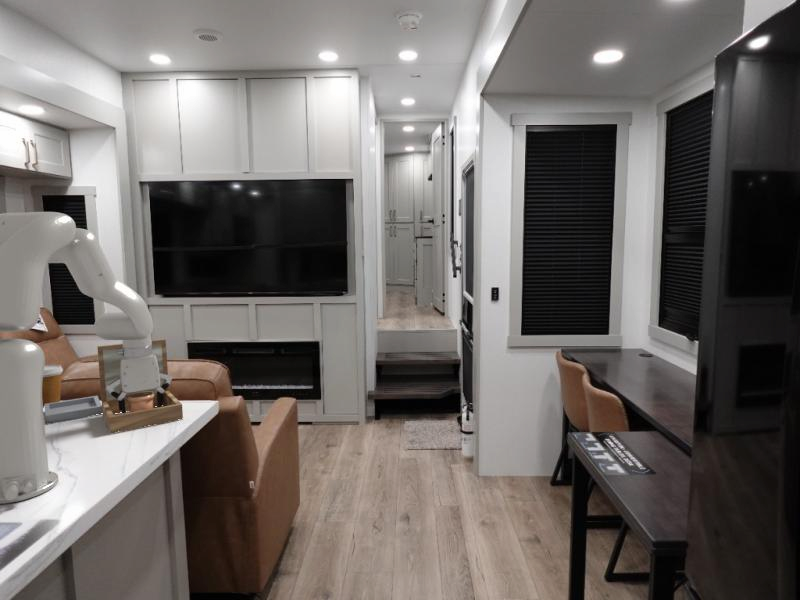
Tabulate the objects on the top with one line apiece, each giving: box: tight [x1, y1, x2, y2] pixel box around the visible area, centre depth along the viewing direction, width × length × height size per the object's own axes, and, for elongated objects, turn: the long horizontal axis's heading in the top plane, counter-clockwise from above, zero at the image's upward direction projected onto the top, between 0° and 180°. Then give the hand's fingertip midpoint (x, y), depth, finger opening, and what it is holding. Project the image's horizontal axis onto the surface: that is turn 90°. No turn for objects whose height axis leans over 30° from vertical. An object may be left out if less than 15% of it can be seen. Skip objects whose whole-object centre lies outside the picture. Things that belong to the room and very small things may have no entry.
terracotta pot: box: [127, 391, 155, 413], centre depth 147 cm, size 7×7×7 cm
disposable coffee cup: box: [42, 364, 64, 406], centre depth 161 cm, size 10×10×12 cm
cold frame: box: [97, 338, 184, 434], centre depth 146 cm, size 19×18×21 cm
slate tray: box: [44, 395, 102, 425], centre depth 152 cm, size 14×14×2 cm
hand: (142, 408), depth 147 cm, fingers open, 9 cm apart
